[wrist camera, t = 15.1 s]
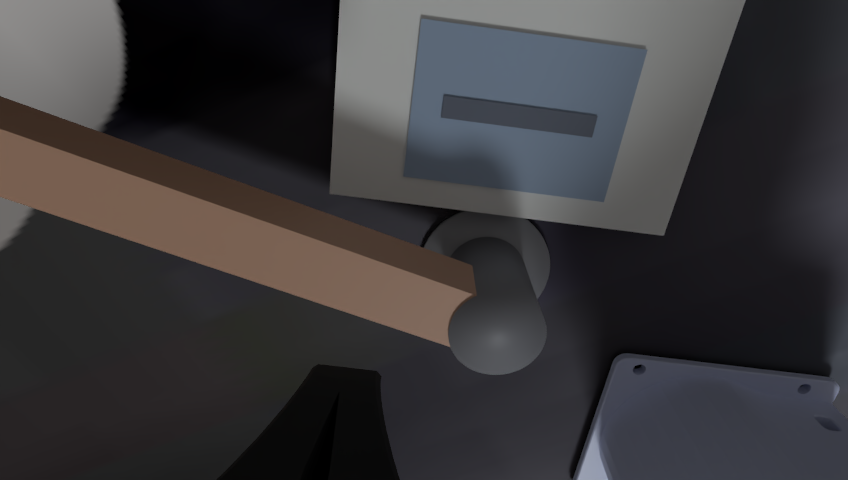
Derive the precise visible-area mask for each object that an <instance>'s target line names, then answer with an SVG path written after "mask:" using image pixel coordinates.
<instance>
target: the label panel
mask: <svg viewBox="0 0 848 480" xmlns="http://www.w3.org/2000/svg"><path fill="white" fill-rule="evenodd" d="M745 1H746V0H340V9H339V27H338V46H337V64H336V83H335V101H334V119H333V138H332V156H331V174H330V193H329V194H336V195H344V196H352V197H360V198H368V199H376V200H384V201H391V202H399V203H407V204H415V205H423V206H431V207H439V208H447V209H455V210H463V211H461V212H458V213H456V214H454V215H452V216H451V217H449V218H447V219H446V220H444V221H443V222H442V223H441V224H439V225H438V226H437V227H436V228H435V230H434V231H433V232H432V233H431V235H430V236H429V237H428V239H427V241H426V243H425V245H424V248H425V249H428V250H431V251H434V252H436V253H439V254H442V255H445V256H448V257H451V255H452V254H453V252H454V251H455V250H456V249H457V248H458V247H459V246H461V245H462V244H464V243H465V242H467V241H469V240H472V239H475V238H480V237H494V238H499V239H502V240H504V241H507V242H508V243H510V244H511V245H513V246H514V247H515V248H516V249H517V250H518V251H519V253H520V254H521V256H522V258H523V261H524V263H525V266H526V269H527V272H528V275H529V278H530V280H531V283H532V286H533V289H534V292H535V294H536V297H537V299H538V298H539V296H540V295H541V293H542V292H543V290H544V288H545V286H546V284H547V281H548V278H549V272H550V256H549V251H548V248H547V245H546V243H545V241H544V239H543V237H542V235H541V234H540V232H539V231H538V230H537V228H536V227H535V226H534V225H533V224H532V223H531V222H530V221H528V220H527V219H534V220H542V221H550V222H558V223H566V224H574V225H582V226H590V227H598V228H605V229H613V230H621V231H629V232H637V233H645V234H653V235H661V236H664V234H665V231H666V228H667V225H668V222H669V219H670V216H671V214H672V211H673V208H674V205H675V202H676V199H677V196H678V193H679V191H680V188H681V185H682V182H683V179H684V176H685V173H686V170H687V168H688V165H689V162H690V159H691V156H692V153H693V150H694V147H695V145H696V142H697V139H698V136H699V133H700V130H701V127H702V124H703V122H704V119H705V116H706V113H707V110H708V107H709V104H710V101H711V99H712V96H713V93H714V90H715V87H716V84H717V81H718V78H719V76H720V73H721V70H722V67H723V64H724V61H725V58H726V55H727V53H728V50H729V47H730V44H731V41H732V38H733V35H734V32H735V30H736V27H737V24H738V21H739V18H740V15H741V12H742V9H743V6H744V4H745Z"/></svg>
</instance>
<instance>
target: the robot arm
mask: <svg viewBox="0 0 848 480" xmlns="http://www.w3.org/2000/svg"><path fill="white" fill-rule="evenodd" d="M637 365H641V367H639V368H638V369H633V368H634V367H635V366H637ZM380 382H381V376H380V374H379V373H378V372H377V371H372V370H363V369H355V368H346V367H337V366H328V365H320V364H318V365H316V366H315V367H313V368H312V370H311V371H310V373H309V374H308V376H307V377H306V379H305V380H304V381H303V383H302V384H301V386H300V387H299V388H298V390H297V391H296V392H295V394H294V395H293V396H292V397H291V399H290V400H289V401H288V403H287V404H286V405H285V406H284V408H283V409H282V410H281V411H280V412H279V413H278V415H277V416H276V417H275V418H274V419H273V420H272V422H271V423H270V424H269V425H268V426H267V427H266V429H265V430H264V431H263V432H262V433H261V434H260V435H259V437H258V438H257V439H256V440H255V441H254V442H253V443H252V444H251V445H250V446H249V447H248V448H247V449H246V450H245V451H244V452H243V453H242V454H241V456H240V457H239V458H238V459H237V460H236V461H235V462H234V463H233V464H232V465H231V466H230V467H229V468H228V469H227V470H226V471H225V472H224V473H223V474H222V475H221V476H220V477H219V478H218V479H217V480H400V479H399V476H398V473H397V469H396V466H395V462H394V459H393V455H392V451H391V447H390V443H389V439H388V435H387V431H386V426H385V421H384V415H383V409H382V402H381V389H380ZM801 385H803V386H801ZM800 386H801V387H800ZM839 389H840V388H839V385H838V384H837V383H836V382H835V381H834V380H833V379H832V378H830V377H825V376H816V375H808V374H799V373H791V372H783V371H774V370H766V369H757V368H749V367H740V366H732V365H723V364H715V363H706V362H698V361H689V360H681V359H672V358H664V357H655V356H647V355H638V354H630V353H623V354H620V355H618V356H617V357H616V358H615V359H614V360H613V362H612V365H611V368H610V371H609V374H608V377H607V380H606V383H605V386H604V389H603V392H602V395H601V398H600V401H599V404H598V407H597V409H596V412H595V415H594V418H593V421H592V424H591V427H590V430H589V433H588V436H587V439H586V442H585V445H584V448H583V451H582V453H581V456H580V459H579V462H578V465H577V468H576V471H575V474H574V477H573V480H848V419H847V418H846V417H845V416H844V415H843V414H842V413H841V412H840V411H839V410H838V409H837V408H836V407H835V406H834V405H833V404H832V403H833V401H834V399H835V398H836V396H837V394H838V392H839Z"/></svg>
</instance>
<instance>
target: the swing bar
mask: <svg viewBox="0 0 848 480" xmlns="http://www.w3.org/2000/svg"><path fill="white" fill-rule="evenodd" d="M0 197H2V198H5V199H8V200H11V201H14V202H17V203H20V204H23V205H26V206H29V207H32V208H35V209H38V210H41V211H44V212H47V213H50V214H53V215H56V216H59V217H62V218H65V219H68V220H71V221H74V222H77V223H80V224H83V225H86V226H89V227H92V228H95V229H98V230H101V231H104V232H107V233H110V234H113V235H116V236H119V237H122V238H125V239H128V240H131V241H134V242H137V243H140V244H143V245H146V246H149V247H152V248H155V249H158V250H161V251H164V252H167V253H170V254H173V255H176V256H179V257H182V258H185V259H188V260H191V261H194V262H197V263H200V264H203V265H206V266H209V267H212V268H215V269H218V270H221V271H224V272H227V273H230V274H233V275H236V276H239V277H242V278H245V279H248V280H251V281H254V282H257V283H260V284H263V285H266V286H269V287H272V288H275V289H278V290H281V291H284V292H287V293H290V294H293V295H296V296H299V297H302V298H305V299H308V300H311V301H314V302H317V303H320V304H323V305H326V306H329V307H332V308H335V309H338V310H341V311H344V312H347V313H350V314H353V315H356V316H359V317H362V318H365V319H368V320H371V321H374V322H377V323H380V324H383V325H386V326H389V327H392V328H395V329H398V330H401V331H404V332H407V333H410V334H413V335H416V336H419V337H422V338H425V339H428V340H431V341H434V342H437V343H440V344H443V345H446V346H449V347H451V350H452V352H453V353H454V355H455V356H456V358H457V359H458V360H459V361H460V362H461V363H462V364H463V365H465V366H466V367H468V368H470V369H472V370H474V371H476V372H479V373H483V374H489V375H502V374H508V373H512V372H515V371H517V370H520V369H522V368H524V367H526V366H527V365H528V364H530V363H531V362H532V361H533V360H535V358H536V357H537V356H538V355H539V354H540V352H541V351H542V349H543V347H544V344H545V341H546V336H547V328H546V323H545V320H544V317H543V314H542V311H541V309H540V306H539V303H538V300H537V297H536V294H535V292H534V289H533V286H532V283H531V280H530V278H529V275H528V272H527V269H526V266H525V263H524V261H523V258H522V256H521V254H520V253H519V251H518V250H517V249H516V248H515V247H514V246H513V245H511V244H510V243H508V242H507V241H504V240H502V239H499V238H494V237H480V238H475V239H472V240H469V241H467V242H465V243H464V244H462V245H461V246H459V247H458V248H457V249H456V250H455V251H454V252H453V254H452V255H451V257H448V256H445V255H442V254H439V253H436V252H434V251H431V250H428V249H425V248H422V247H420V246H417V245H414V244H411V243H408V242H406V241H403V240H400V239H397V238H395V237H392V236H389V235H386V234H383V233H381V232H378V231H375V230H372V229H369V228H367V227H364V226H361V225H358V224H355V223H353V222H350V221H347V220H344V219H341V218H339V217H336V216H333V215H330V214H327V213H325V212H322V211H319V210H316V209H314V208H311V207H308V206H305V205H302V204H300V203H297V202H294V201H291V200H288V199H286V198H283V197H280V196H277V195H274V194H272V193H269V192H266V191H263V190H260V189H258V188H255V187H252V186H249V185H246V184H244V183H241V182H238V181H235V180H233V179H230V178H227V177H224V176H221V175H219V174H216V173H213V172H210V171H207V170H205V169H202V168H199V167H196V166H193V165H191V164H188V163H185V162H182V161H179V160H177V159H174V158H171V157H168V156H165V155H163V154H160V153H157V152H154V151H152V150H149V149H146V148H143V147H140V146H138V145H135V144H132V143H129V142H126V141H124V140H121V139H118V138H115V137H112V136H110V135H107V134H104V133H101V132H98V131H96V130H93V129H90V128H87V127H84V126H81V125H79V124H76V123H73V122H70V121H67V120H65V119H62V118H59V117H57V116H54V115H51V114H48V113H45V112H43V111H40V110H37V109H34V108H31V107H29V106H26V105H23V104H20V103H17V102H15V101H12V100H9V99H6V98H3V97H1V96H0Z"/></svg>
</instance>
